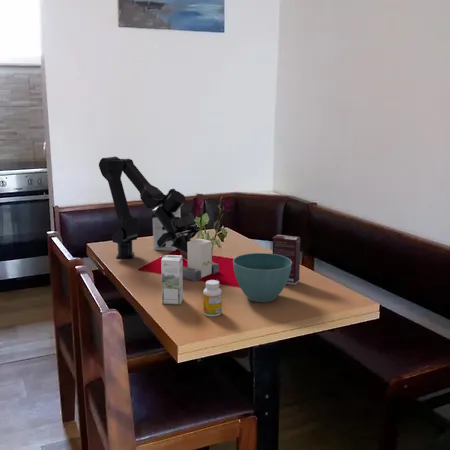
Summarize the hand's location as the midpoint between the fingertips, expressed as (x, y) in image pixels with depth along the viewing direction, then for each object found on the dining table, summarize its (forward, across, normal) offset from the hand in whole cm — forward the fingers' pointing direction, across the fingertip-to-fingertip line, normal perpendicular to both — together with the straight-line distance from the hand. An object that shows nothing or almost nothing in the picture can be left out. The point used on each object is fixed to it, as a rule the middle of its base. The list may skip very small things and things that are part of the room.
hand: (192, 254), depth 206 cm
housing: (+6, 0, +4) cm, 7 cm away
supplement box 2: (+27, +12, -17) cm, 34 cm away
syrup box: (+14, -25, -4) cm, 30 cm away
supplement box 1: (-16, +20, +26) cm, 36 cm away
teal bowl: (+29, -6, -18) cm, 35 cm away
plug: (+7, 0, +3) cm, 8 cm away
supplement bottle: (+26, -25, -15) cm, 39 cm away
